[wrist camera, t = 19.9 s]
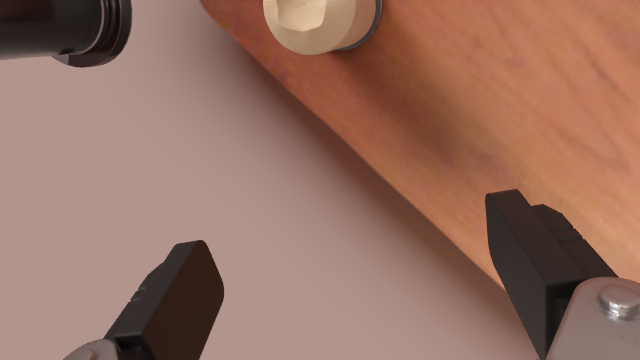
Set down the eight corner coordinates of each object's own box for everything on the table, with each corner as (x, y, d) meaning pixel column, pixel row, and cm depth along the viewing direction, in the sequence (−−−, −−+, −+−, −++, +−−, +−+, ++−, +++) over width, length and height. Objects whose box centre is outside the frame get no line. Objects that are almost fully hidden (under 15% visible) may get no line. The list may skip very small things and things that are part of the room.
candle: (391, 13, 30) (372, 10, 21) (335, 61, 32) (295, 77, 23) (346, -50, 29) (305, -82, 20) (291, 4, 31) (233, -3, 22)
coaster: (290, 31, 33) (288, 31, 32) (318, -54, 30) (316, -55, 29) (362, 63, 32) (361, 63, 32) (397, -21, 29) (396, -22, 29)
